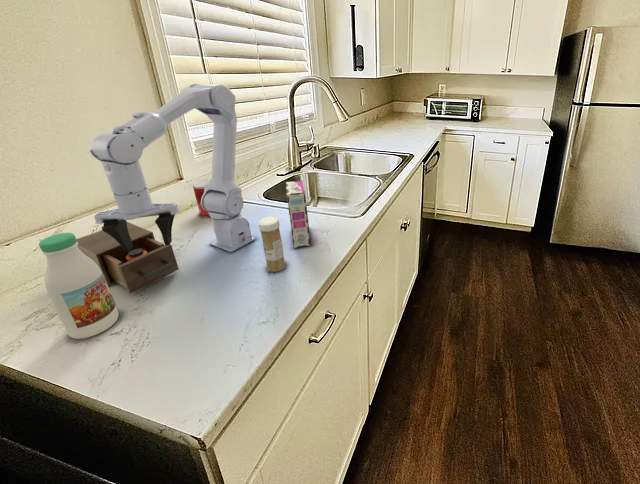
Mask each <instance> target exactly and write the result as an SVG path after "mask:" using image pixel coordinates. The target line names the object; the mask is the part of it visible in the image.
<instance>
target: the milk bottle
mask: <svg viewBox="0 0 640 484" xmlns="http://www.w3.org/2000/svg"><path fill="white" fill-rule="evenodd" d="M76 239H77V237H76V235H75V234H74V233H72V232H62V233H61V232H60V233H56V234H53V235H50V236H47V237H45V238H43V239H42V240H40V241H39V243H38V247H39V250H40V251H41V252H42V255H44V256H45V257H46V269H45V273H44V285H45V289H46V292H47V294H48V296H49V298H50V301H51V303H52V305H53V307H54V309H55V312H56V313H57V315H58V317H59V319H60V322H61V324H62V325H63V327H64V329H65V331H66V333H67V335H68V336H69V337H70V338H72V339H75V340H81V339H82V340H83V339H87V338H91V337H94V336H96V335H99V334H101V333H102V332H104V331H106V330H108V329H109V328H110V327H112V326H114V325H115V323H116V322H117V321H118V319H119V315H120V312H119V310H118V306H117V304H116V302H115V299H114V297H113V295H112V292H111V289H110V288H109V287H110V286H108V285H107V283H106V280H105V278H104V276H103V274H102V271H101V269H100V268H99V266H98V265H97V264H96V263H95V262H94V261H93V260H92V259H91V258H89V257H88V256H86V255H85V254H84V253H83V252H81V251H80V249H79V248H78V247H77V245H78V242H77V240H76Z"/></svg>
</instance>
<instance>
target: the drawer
mask: <svg viewBox="0 0 640 484" xmlns="http://www.w3.org/2000/svg"><path fill="white" fill-rule="evenodd" d="M132 244H133V247H132V248H131V249H130V251H132V250H135V249H143V250H146V251H147V253H146V254H144V255H142V256H139V257H137V258H135V259H133V260H130V261H128V262H127V259H126V256H127V255H128V253H129V252H130V251H125V250H124V249H123V247H120V248H118V249H115V250H113V251H110V252H108V253H105V254H103V255H100V257H101V259H102V262H103V264H104V267H105V269H106V272H107V274H108V277H109V278H110V279H112V280H114V281H115V282H117V283H116V284H119V285H121V286H122V287H124V288H126V291H127V293H128V294H130V295H132V294H134V293H136V292H138V291H140V290H141V289H143V288H145V287H147V286H149V285H152V284H153V283H155V282H157V281H159V280H161V279H163V278H165V277H167V276H169V275H171V274H173V273H174V272H175V273H176V271H178V270H179V269H180V268H179V265H178V262H177V258H176V255H175V252H174V248H173V246H172V245H173V244H170V245H167V246H166V245H165V243H164V242H161V241H158V240H156V239H155V240H154V239H152V238H149V237H145V238H143V239H140V240H138V241H135V242H133V243H132Z"/></svg>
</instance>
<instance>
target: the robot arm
mask: <svg viewBox="0 0 640 484" xmlns="http://www.w3.org/2000/svg"><path fill="white" fill-rule="evenodd" d="M194 109H195V110H197V111H199V113H202V114H203V115H205V116H206V117H207V118H208V119H210V121H212V122H213V138H212V139H213V140H212V161H211V179H212V180H211V181H210V182H209V183H208V184H207V185H206V186H205V190H204V194H203V196H202V198H201V206H202V208H203V209H204V210H205V211H208V213H209V215H210V216H211V217H210V219H211V224H212V227H213V232H214V237H215V240H212V241H211V242H210V245H212V246H214V247H217V248H219V249H222V250H225V251H227V252H229V253H232V252H234V251H236V250H238V249H240V248H242V247H244V246H246V245H247V244H249V243H252V242H254V241H255V240H256V238H255V237H254V236H252V231H251V228H250V223H249V221H248V219H246V218H245V217H243V215H242V214H241V213H242V211H243V208H244V205H245V204H244V198H243V194H242V191H243V190H242V188H241V187H240V186H239V185H238V184H237V182H236V181H235V169H236V168H235V167H236V146H237V127H238V116H237V112H236V95H235V94H234V93H233V91H232V90H231V89H230V88H229V87H228V86H227V85H225V84H223V83H217V84H200V83H192V84H190V85H189V86H188V87H184V88H183V89H181V92H179V93H178V94H177V95H176V96H174V97H173V98H171V99H170V100H169V101H168V102H166V103H165V104H163V105H162V106H160V108H158V109H156V110H155V111H154V112H150V111H142V112H139V111H136V112H135V113H133V114H132V115H131V116H132V118H131V119H129V120H128V121H127V122H125V123H123V124H122V125H116V126H114V127H112V133H110V132H108V133H106V132H105V133H101V134H99V135H97V136H96V137H95V138H94V139H93V142H92V143H91V149H90V150H89V152H90V154H91V156H92V157H94V158H95V159H96V160H98V161H99V162H100V163H101V165H102V167H103V170H104V172H105V176H106V178H107V181H108V184H109V187H110V189H111V192H112V194H113V198H114V201H115V203H116V206H117V208H116V209H110V210H106V211H105V210H104V211H99V212H97V213H96V214H95V215H93V217H94V221H95V222H96V224H97V225H102V224H103V225H102V226H101V230H103V231H104V232H106V233H107V234H109V235H110V236H112V237H113V238H114V239H115V240H116V241H117V242H118V243H119V244H120V245H121V246H122V247H123V249H124V250H125V251H130V249H131V248H132V247H133V244H132V241H131V238H130V235H129V232H128V228H127V222H128V221H132V220H136V219H141V218H148V217H156V216H158V217H157V218H156V219H155V220H154V224H156V226H157V228H158V229H159V231H160V233H161V236H162V240H163V244H164V245H166V246H167V245H171V243H172V242H173V240H172V239H173V237H172V232H173V229H172V228H173V223H174V220H175V216H176V215H177V214H178V213H179V211H180V210H179V206H178V203H176V202H174V203H153V201H152V199H151V195H150V192H149V187H148V186H147V183H146V179H145V176H144V172H143V170H142V169H143V168H142V166H141V163H140V161H139V160H140V159H141V157H142V155H143V152H144V150H145V149H146V148H147V147H148V146H150V145H151V144H152V143H154V142H155V141H157V140H158V139H160V138H161V137H163V136H164V135H165V134H166V133H167V125H169V124H171V123H173V122H175V121H176V120H178V119H180V118H181V117H183V116H184V115H186V114H187V113H189V112H191V111H192V110H194ZM221 191H222V192H221Z"/></svg>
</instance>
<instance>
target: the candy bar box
mask: <svg viewBox="0 0 640 484" xmlns="http://www.w3.org/2000/svg"><path fill="white" fill-rule="evenodd" d="M285 190H286V200H287V206H288V208H287V209H288V214H289V223H290V230H291V237H292V243H293V249H299V248H305V247H310V246H312V243H311V231H310V223H309V215H308V206H307V196H306V191H305V186H304V181H303V180H292V181H286V182H285Z"/></svg>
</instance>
